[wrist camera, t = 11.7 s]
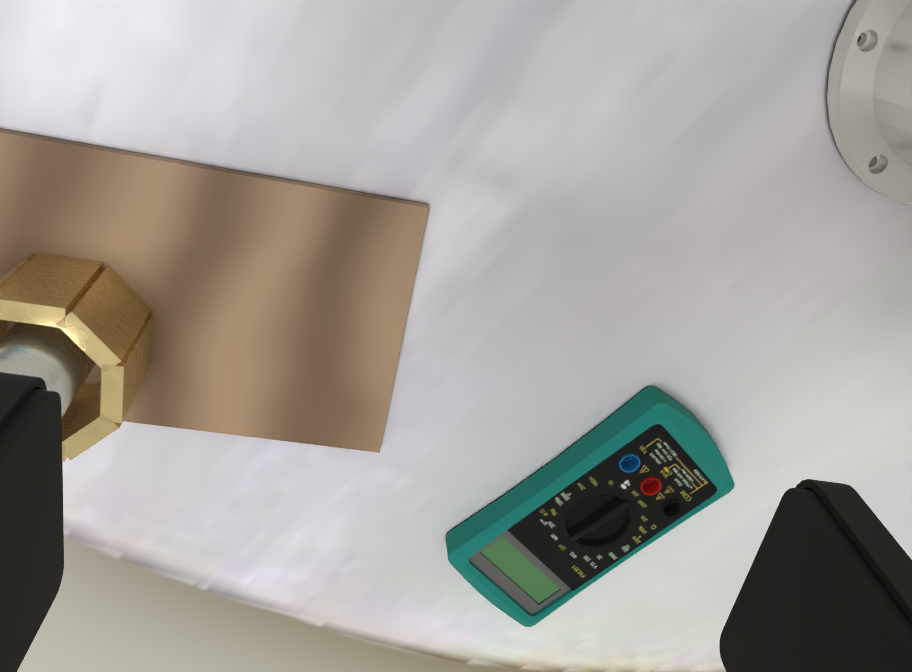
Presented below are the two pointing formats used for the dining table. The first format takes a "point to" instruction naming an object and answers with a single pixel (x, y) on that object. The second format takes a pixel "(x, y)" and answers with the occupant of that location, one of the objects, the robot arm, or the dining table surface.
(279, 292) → the board
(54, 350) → the piston post
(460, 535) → the digital multimeter
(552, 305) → the dining table surface
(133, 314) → the ring
